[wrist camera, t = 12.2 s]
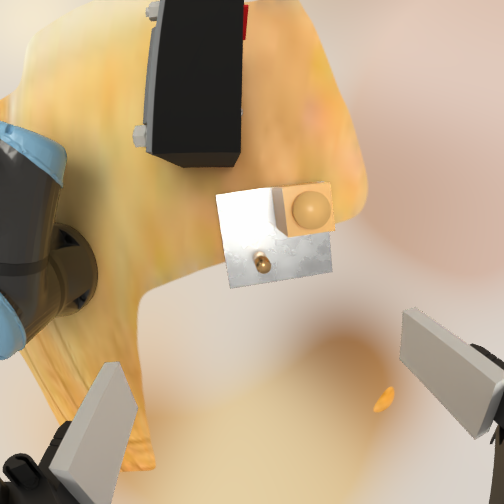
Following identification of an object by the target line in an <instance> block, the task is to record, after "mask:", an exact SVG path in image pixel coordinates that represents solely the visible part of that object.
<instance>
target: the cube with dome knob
mask: <svg viewBox="0 0 504 504" xmlns="http://www.w3.org/2000/svg"><path fill="white" fill-rule="evenodd" d="M271 189H272V196H273V204H274V212H275V219H276V227H277V229H278V230H280V231H281V232H282V233H283V234H284V235H286V236H287V237H288V238H289V237H295V236H302V235H309V234H316V233H323V232H329V231H335V223H334V212H333V203H332V193H331V184H330V182H310V183H301V184H293V185H284V186H276V187H271Z"/></svg>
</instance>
